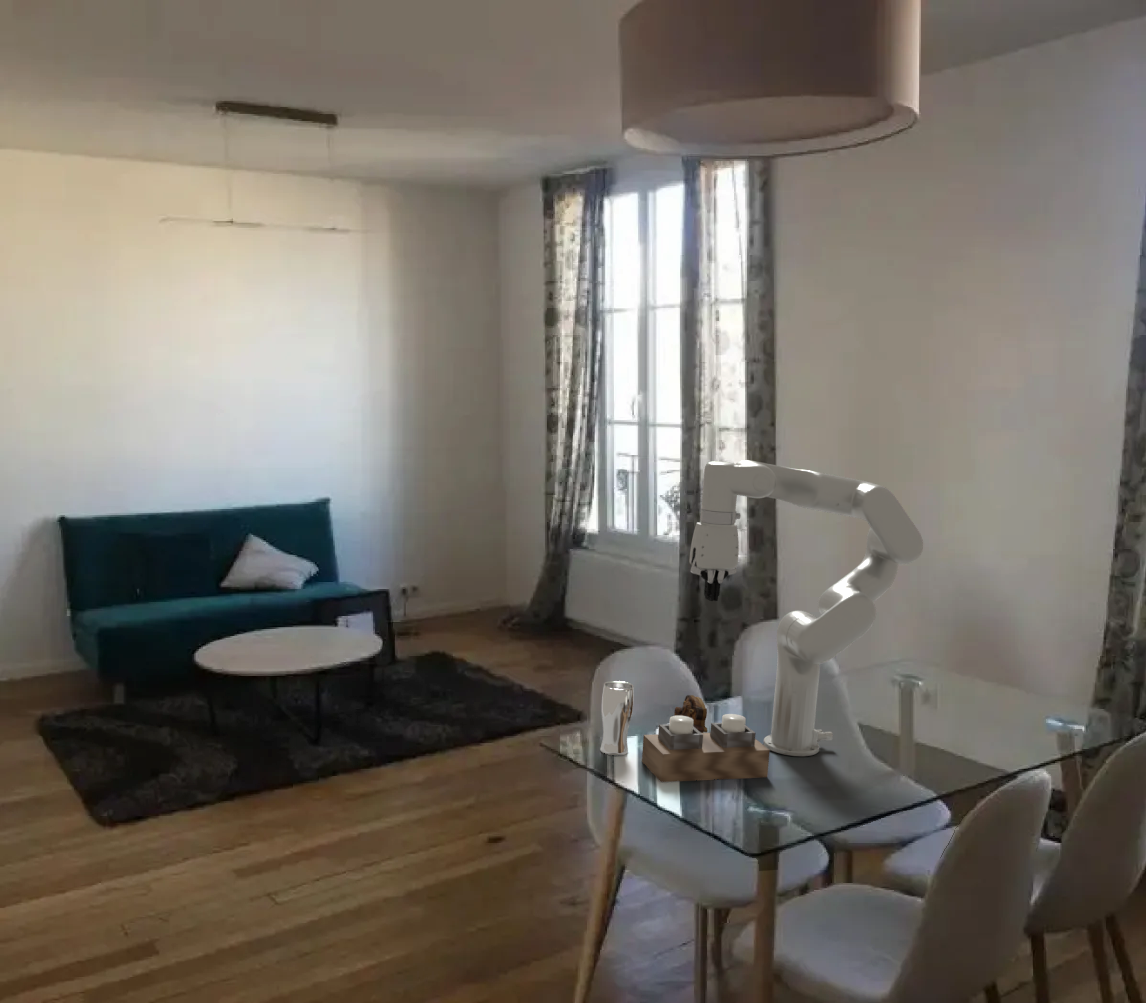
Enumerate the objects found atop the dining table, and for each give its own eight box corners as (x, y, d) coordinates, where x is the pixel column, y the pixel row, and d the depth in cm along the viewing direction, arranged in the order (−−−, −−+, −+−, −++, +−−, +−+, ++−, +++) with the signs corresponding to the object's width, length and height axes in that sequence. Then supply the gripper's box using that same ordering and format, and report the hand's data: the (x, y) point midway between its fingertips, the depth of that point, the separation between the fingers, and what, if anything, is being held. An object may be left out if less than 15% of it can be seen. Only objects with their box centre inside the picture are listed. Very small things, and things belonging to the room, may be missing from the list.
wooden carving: (665, 728, 280) (668, 687, 278) (683, 727, 281) (686, 686, 280) (693, 752, 264) (697, 708, 263) (712, 751, 265) (715, 708, 264)
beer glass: (627, 758, 257) (632, 691, 255) (595, 754, 258) (600, 687, 256) (632, 748, 264) (636, 683, 262) (601, 744, 265) (605, 679, 263)
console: (743, 757, 262) (747, 718, 261) (767, 777, 251) (770, 736, 250) (641, 761, 256) (644, 721, 254) (660, 782, 244) (664, 740, 243)
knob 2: (738, 736, 257) (740, 713, 257) (747, 743, 252) (749, 721, 252) (716, 736, 256) (718, 714, 255) (726, 744, 251) (727, 721, 250)
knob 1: (686, 737, 254) (688, 715, 253) (695, 745, 249) (697, 722, 248) (664, 738, 252) (666, 715, 252) (673, 746, 248) (674, 723, 247)
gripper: (740, 515, 266) (734, 595, 269) (679, 515, 261) (673, 596, 264) (756, 521, 259) (749, 603, 262) (693, 520, 254) (687, 604, 257)
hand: (711, 599), depth 263 cm, fingers closed
